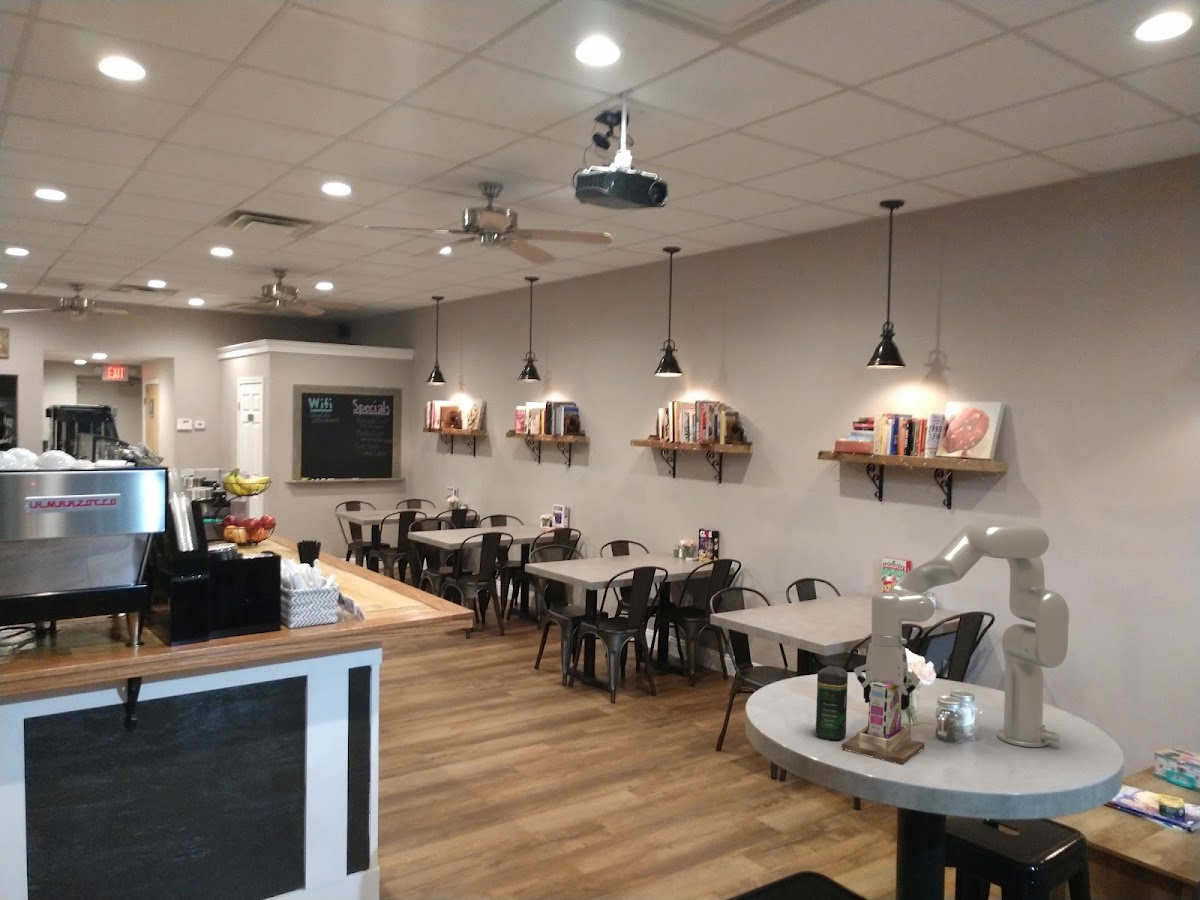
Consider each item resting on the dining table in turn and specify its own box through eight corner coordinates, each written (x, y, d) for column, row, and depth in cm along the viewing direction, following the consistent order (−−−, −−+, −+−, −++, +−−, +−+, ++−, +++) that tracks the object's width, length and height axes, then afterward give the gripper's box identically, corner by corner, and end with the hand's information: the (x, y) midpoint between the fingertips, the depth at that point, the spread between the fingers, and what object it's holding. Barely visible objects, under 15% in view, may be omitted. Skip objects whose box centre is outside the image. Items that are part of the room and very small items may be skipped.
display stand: (924, 748, 230) (924, 729, 230) (902, 764, 217) (903, 744, 217) (865, 735, 240) (866, 716, 240) (841, 749, 227) (842, 730, 227)
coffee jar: (842, 743, 233) (844, 673, 233) (812, 738, 236) (814, 669, 236) (848, 732, 241) (850, 666, 241) (820, 728, 245) (821, 662, 245)
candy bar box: (885, 751, 223) (887, 687, 223) (866, 746, 226) (868, 683, 226) (901, 740, 231) (903, 679, 231) (883, 736, 234) (885, 675, 234)
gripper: (924, 642, 226) (924, 708, 226) (860, 633, 237) (860, 696, 237) (914, 647, 220) (914, 715, 220) (849, 638, 231) (848, 702, 231)
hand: (886, 705), depth 229 cm, fingers open, 9 cm apart
